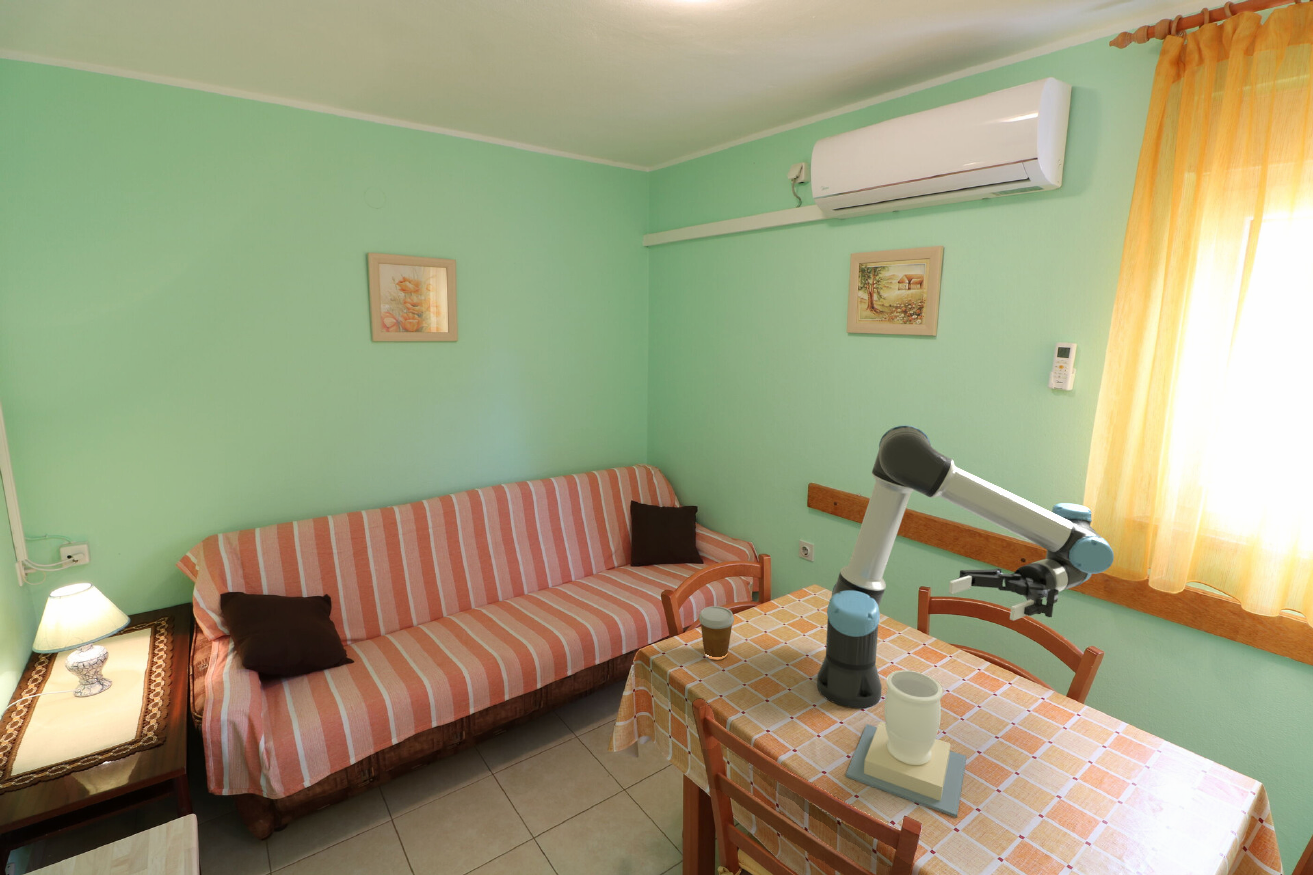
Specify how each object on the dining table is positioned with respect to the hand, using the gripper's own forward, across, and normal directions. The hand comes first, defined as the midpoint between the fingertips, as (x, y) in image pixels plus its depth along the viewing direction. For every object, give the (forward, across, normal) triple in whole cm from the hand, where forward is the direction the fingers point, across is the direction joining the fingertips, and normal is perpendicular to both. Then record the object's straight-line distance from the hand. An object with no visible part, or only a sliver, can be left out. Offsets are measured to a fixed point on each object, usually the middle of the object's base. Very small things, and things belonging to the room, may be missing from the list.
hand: (979, 600), depth 128 cm
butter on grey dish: (+19, 0, -32) cm, 37 cm away
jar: (+19, 0, -29) cm, 34 cm away
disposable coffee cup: (+28, +55, -32) cm, 69 cm away
